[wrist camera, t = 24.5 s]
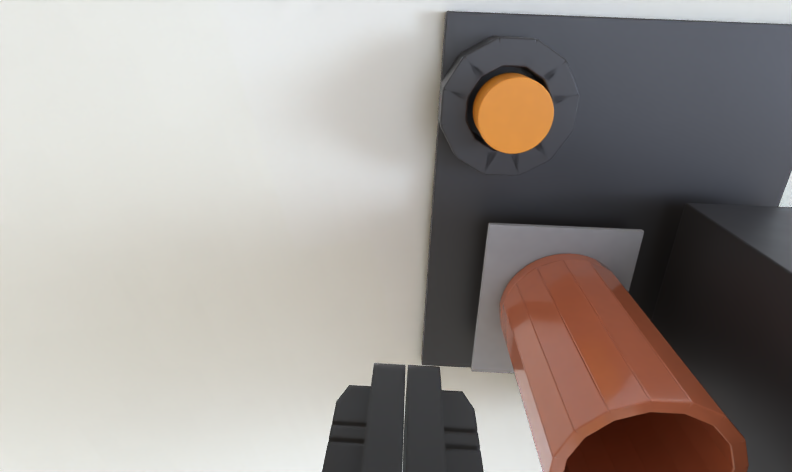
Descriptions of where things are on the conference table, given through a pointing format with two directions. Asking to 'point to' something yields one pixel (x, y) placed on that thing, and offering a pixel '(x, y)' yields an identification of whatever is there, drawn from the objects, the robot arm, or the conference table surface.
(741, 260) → the coffee maker
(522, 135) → the brew button
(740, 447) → the tumbler
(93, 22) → the conference table surface
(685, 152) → the coffee maker base
